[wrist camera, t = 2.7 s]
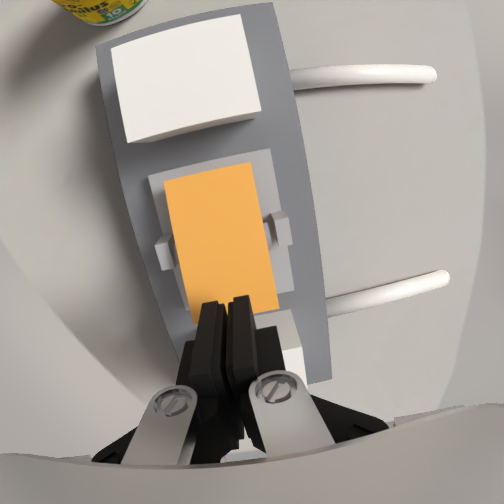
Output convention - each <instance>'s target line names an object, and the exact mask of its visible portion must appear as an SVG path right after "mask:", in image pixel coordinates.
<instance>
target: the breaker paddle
mask: <svg viewBox="0 0 504 504" xmlns="http://www.w3.org/2000/svg"><path fill="white" fill-rule="evenodd" d="M164 187H165V193H166V198H167V204H168V209H169V214H170V220H171V225H172V230H173V235H174V240H175V242H174V254H175V258H176V260H177V262H178V264H180V268H181V272H182V277H183V281H184V285H185V290H186V294H187V298H188V302H189V307H190V311H191V315H192V319H193V323H194V324H198V321H199V316H200V311H201V306H202V303H206V302H211V301H218V302H219V304H222V303H224V304H225V307H226V311H227V315H228V302H233V297H238V296H243V295H249V297H250V302H251V306H252V311H253V314H255V313H260V312H265V311H270V310H275V309H280V307H279V302H278V297H277V292H276V286H275V281H274V276H273V271H272V266H271V261H270V256H269V251H268V247H269V246H272V242H271V236H270V231H269V227H268V223H263V220H262V216H261V211H260V206H259V201H258V196H257V191H256V186H255V181H254V176H253V172H252V167H251V162H247V163H242V164H237V165H232V166H227V167H223V168H218V169H213V170H209V171H204V172H200V173H196V174H191V175H187V176H183V177H179V178H175V179H171V180H167V181H164Z"/></svg>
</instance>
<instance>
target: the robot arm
mask: <svg viewBox="0 0 504 504" xmlns="http://www.w3.org/2000/svg"><path fill="white" fill-rule="evenodd" d="M244 427H245V429H246V432H247V435H248V437H249V438H251V440H252V443H253V446H254V447H256V448H258V449H259V450H261V451H263V452H265V453H266V454H267V457H266V458H259V459H251V460H243V461H234V462H226V457H225V455H226V454H227V453H228V452H230V451H231V450H235V449H239V440H240V439H244ZM0 504H504V404H500V403H499V404H498V403H487V404H479V405H470V406H453V407H449V408H444V409H440V410H435V411H430V412H425V413H419V414H414V415H408V416H401V417H395V418H394V421H392V422H384V421H382V420H380V419H378V418H376V417H373V416H370V415H367V414H364V413H361V412H358V411H355V410H352V409H349V408H346V407H343V406H340V405H338V404H335V403H332V402H329V401H327V400H324V399H321V398H318V397H316V396H313V395H311V394H309V392H308V390H307V388H306V386H305V385H304V383H303V381H302V379H301V378H300V377H299V376H298V375H297V374H295V373H293V372H290V371H286V368H285V364H284V359H283V354H282V349H281V345H280V340H279V335H278V331H277V326H270V327H265V328H260V329H257V328H256V324H255V319H254V315H253V311H252V306H251V302H250V297H249V295H243V296H238V297H233V302H228V315H227V311H226V307H225V304H224V303H222V304H219V302H218V301H211V302H206V303H202V306H201V311H200V316H199V321H198V326H197V332H196V337H195V340H190V341H186V342H185V344H184V349H183V353H182V358H181V362H180V367H179V371H178V376H177V380H176V385H175V386H170V387H167V388H164V389H162V390H160V391H159V392H157V393H156V394H155V395H154V396H153V397H152V399H151V400H150V402H149V404H148V406H147V408H146V410H145V413H144V414H143V417H142V419H141V421H140V423H139V425H138V426H137V427H136V428H135V429H133V430H131V431H130V432H128V433H127V434H125V435H124V436H123V437H121V438H119V439H118V440H116V441H115V442H113V443H112V444H110V445H108V446H107V447H105V448H104V449H102V450H101V451H99V452H98V453H97V454H96V455H95V456H94V457H93V458H92V457H91V455H85V456H75V457H66V458H54V457H47V456H38V455H31V454H19V453H8V454H7V453H6V454H0Z"/></svg>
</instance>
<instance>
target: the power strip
mask: <svg viewBox="0 0 504 504" xmlns="http://www.w3.org/2000/svg"><path fill="white" fill-rule="evenodd" d="M95 47H96V55H97V63H98V70H99V77H100V83H101V89H102V95H103V101H104V107H105V112H106V118H107V123H108V128H109V133H110V138H111V143H112V147H113V152H114V156H115V161H116V165H117V169H118V173H119V178H120V182H121V186H122V190H123V193H124V197H125V201H126V205H127V209H128V212H129V216H130V219H131V223H132V226H133V230H134V233H135V237H136V240H137V243H138V247H139V250H140V253H141V256H142V260H143V263H144V266H145V269H146V272H147V275H148V278H149V281H150V284H151V287H152V290H153V293H154V296H155V299H156V301H157V304H158V307H159V310H160V313H161V315H162V318H163V321H164V323H165V326H166V329H167V331H168V334H169V337H170V339H171V342H172V344H173V347H174V349H175V352H176V354H177V357H178V359H179V362H181V358H182V353H183V349H184V344H185V342H186V341H190V340H195V337H196V332H197V326H198V324H194V323H193V319H192V315H191V311H190V307H189V302H188V298H187V294H186V290H185V285H184V281H183V277H182V272H181V268H180V264H178V262H177V260H176V258H175V254H174V242H175V240H174V235H173V230H172V225H171V220H170V214H169V209H168V204H167V198H166V193H165V187H164V181H167V180H171V179H175V178H179V177H183V176H187V175H191V174H196V173H200V172H204V171H209V170H213V169H218V168H223V167H227V166H232V165H237V164H242V163H247V162H251V167H252V172H253V176H254V181H255V186H256V191H257V196H258V201H259V206H260V211H261V216H262V220H263V223H268V227H269V231H270V236H271V242H272V246H269V247H268V251H269V256H270V261H271V266H272V271H273V276H274V281H275V286H276V292H277V297H278V302H279V307H280V309H275V310H270V311H265V312H260V313H255V314H253V315H254V319H255V324H256V328H257V329H260V328H265V327H270V326H277V331H278V335H279V340H280V345H281V349H282V354H283V359H284V364H285V368H286V371H290V372H293V373H295V374H297V375H298V376H299V377H300V378H301V379H302V381H303V383H304V385H305V386H306V388H307V390H308V387H307V385H308V384H313V383H317V382H321V381H325V380H330V379H332V371H331V356H330V343H329V331H328V319H327V318H329V317H333V316H338V315H342V314H346V313H350V312H354V311H358V310H362V309H366V308H370V307H373V306H377V305H381V304H385V303H388V302H392V301H396V300H399V299H403V298H406V297H410V296H413V295H417V294H420V293H423V292H427V291H430V290H433V289H437V288H440V287H443V286H445V285H447V284H448V282H449V279H450V277H449V274H448V272H447V271H445V270H439V271H435V272H432V273H428V274H425V275H421V276H418V277H414V278H410V279H406V280H403V281H399V282H395V283H391V284H387V285H384V286H380V287H376V288H372V289H368V290H364V291H359V292H355V293H351V294H347V295H343V296H338V297H334V298H330V299H326V298H325V289H324V280H323V271H322V262H321V254H320V246H319V238H318V231H317V223H316V216H315V209H314V203H313V196H312V190H311V183H310V177H309V171H308V165H307V159H306V153H305V148H304V142H303V137H302V131H301V126H300V121H299V116H298V110H297V105H296V101H295V96H294V91H293V90H301V89H309V88H319V87H330V86H342V85H357V84H381V83H427V84H430V83H433V82H435V80H436V78H437V74H436V71H435V70H434V69H433V68H432V67H430V66H423V65H397V64H368V65H341V66H326V67H313V68H303V69H294V70H289V68H288V63H287V59H286V55H285V50H284V46H283V42H282V38H281V34H280V30H279V26H278V22H277V18H276V14H275V10H274V7H273V3H272V2H269V3H260V4H252V5H245V6H238V7H232V8H226V9H220V10H215V11H210V12H205V13H201V14H196V15H192V16H188V17H183V18H179V19H176V20H172V21H168V22H165V23H161V24H158V25H154V26H151V27H148V28H144V29H141V30H138V31H135V32H132V33H129V34H127V35H124V36H121V37H118V38H116V39H113V40H110V41H108V42H105V43H103V44H100V45H98V46H95Z"/></svg>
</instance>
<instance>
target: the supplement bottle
mask: <svg viewBox="0 0 504 504" xmlns="http://www.w3.org/2000/svg"><path fill="white" fill-rule="evenodd" d="M52 1H53V2H55V3H57V4H58V5H60V6H61V7H63V8H64V9H66V10H67V11H69V12H70V13H72V14H73V15H75V16H76V17H78V18H79V19H81V20H82V21H84V22H85V23H87V24H90V25H95V26H106V25H111V24H114V23H117V22H119V21H121V20H123V19H125V18H127V17H129V16H131V15H133V14H134V13H135V12H137V11H138V10H139V9H140V8H141V7H143V6H144V4H145V3H146V2H147V0H52Z"/></svg>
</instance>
